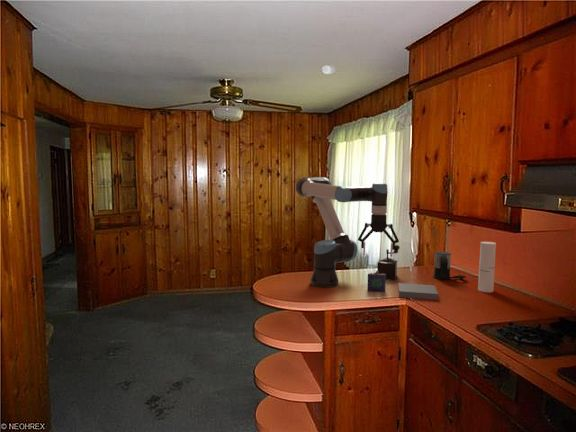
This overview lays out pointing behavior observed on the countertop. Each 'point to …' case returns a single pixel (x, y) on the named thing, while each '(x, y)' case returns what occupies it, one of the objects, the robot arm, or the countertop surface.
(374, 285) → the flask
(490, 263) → the cylindrical container
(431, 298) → the base board
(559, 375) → the countertop surface
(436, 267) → the milk frother
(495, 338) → the countertop surface
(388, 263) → the coffee grinder
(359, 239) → the robot arm
